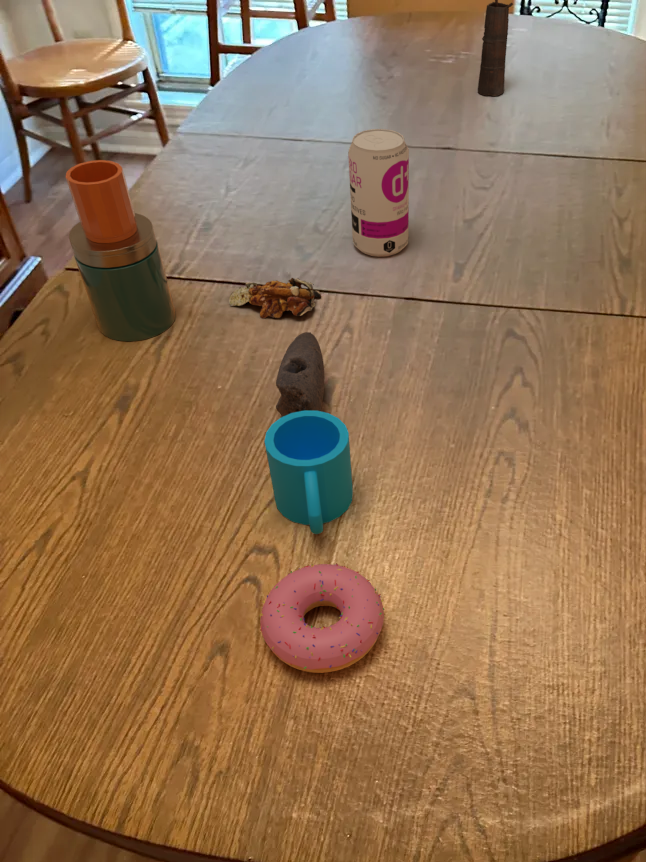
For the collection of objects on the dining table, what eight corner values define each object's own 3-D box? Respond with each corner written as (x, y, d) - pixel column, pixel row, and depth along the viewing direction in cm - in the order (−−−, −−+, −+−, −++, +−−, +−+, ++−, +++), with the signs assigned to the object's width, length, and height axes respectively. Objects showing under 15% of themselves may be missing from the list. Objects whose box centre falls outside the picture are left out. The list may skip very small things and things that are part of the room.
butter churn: (525, 87, 158) (544, -89, 137) (510, 103, 152) (527, -77, 131) (482, 80, 160) (494, -93, 139) (465, 96, 155) (475, -82, 134)
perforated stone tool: (291, 360, 98) (285, 312, 92) (334, 361, 98) (329, 312, 92) (274, 441, 88) (265, 391, 83) (321, 442, 88) (315, 393, 82)
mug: (273, 473, 84) (263, 414, 78) (349, 465, 85) (344, 406, 79) (277, 558, 77) (266, 499, 70) (361, 548, 77) (357, 490, 71)
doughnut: (238, 646, 70) (230, 618, 67) (311, 564, 76) (307, 536, 73) (339, 703, 66) (335, 676, 63) (407, 612, 72) (407, 584, 69)
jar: (95, 345, 100) (66, 261, 91) (100, 303, 106) (73, 220, 98) (175, 336, 101) (154, 252, 92) (175, 295, 108) (155, 212, 99)
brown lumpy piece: (237, 287, 109) (233, 263, 106) (322, 293, 108) (320, 269, 105) (222, 315, 104) (217, 291, 102) (311, 322, 103) (308, 298, 100)
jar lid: (71, 271, 92) (65, 255, 91) (77, 231, 99) (72, 215, 97) (156, 263, 93) (151, 246, 92) (157, 224, 100) (153, 208, 98)
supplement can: (419, 244, 117) (421, 138, 105) (380, 265, 113) (378, 158, 101) (380, 225, 120) (378, 122, 109) (341, 245, 116) (335, 140, 105)
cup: (83, 245, 92) (63, 186, 87) (86, 220, 96) (68, 162, 91) (137, 240, 93) (120, 181, 88) (138, 216, 97) (123, 158, 92)
